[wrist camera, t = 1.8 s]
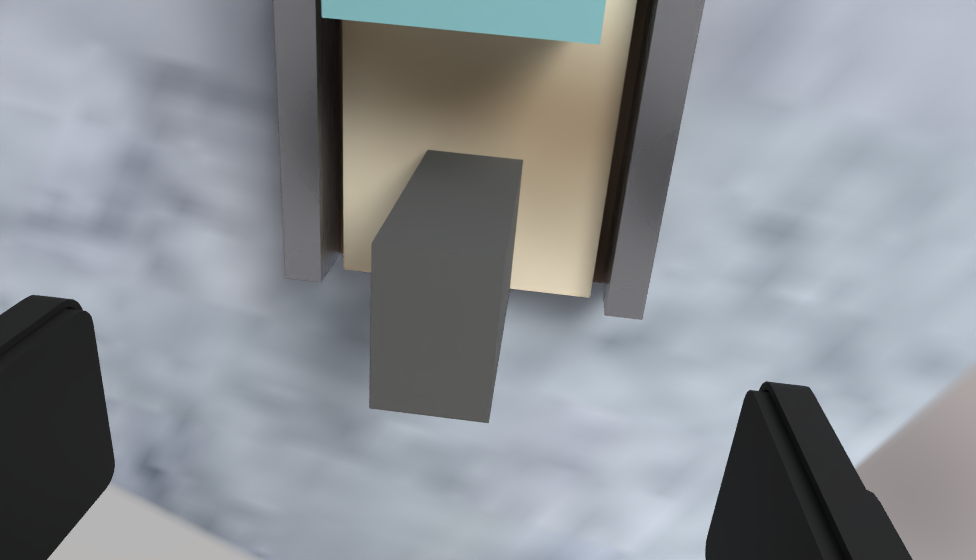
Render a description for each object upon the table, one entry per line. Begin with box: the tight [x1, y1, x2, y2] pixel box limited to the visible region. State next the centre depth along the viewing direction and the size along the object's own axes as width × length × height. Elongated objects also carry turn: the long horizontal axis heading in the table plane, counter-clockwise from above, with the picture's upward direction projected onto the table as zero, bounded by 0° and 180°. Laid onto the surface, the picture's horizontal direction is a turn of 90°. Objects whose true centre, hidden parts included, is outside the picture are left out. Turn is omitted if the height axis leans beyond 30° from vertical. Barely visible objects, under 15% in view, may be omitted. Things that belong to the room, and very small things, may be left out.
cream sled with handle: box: [342, 0, 637, 423], centre depth 13 cm, size 10×6×6 cm, turn 175°
